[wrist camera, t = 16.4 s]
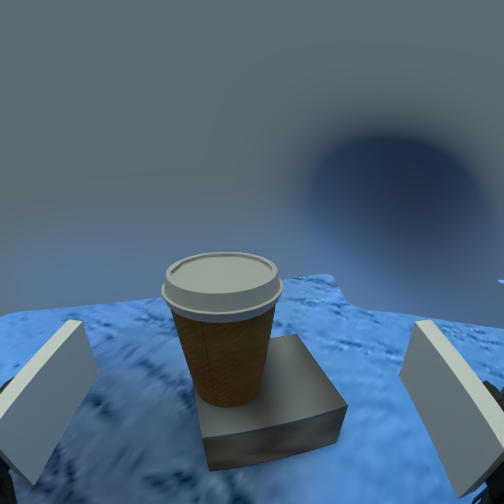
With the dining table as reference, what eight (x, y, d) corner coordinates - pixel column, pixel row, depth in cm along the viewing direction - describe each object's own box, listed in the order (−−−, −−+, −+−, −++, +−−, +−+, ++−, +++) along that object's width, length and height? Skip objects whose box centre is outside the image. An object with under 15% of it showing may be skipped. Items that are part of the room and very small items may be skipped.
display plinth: (293, 370, 37) (296, 333, 35) (336, 442, 25) (347, 405, 23) (194, 386, 34) (188, 348, 32) (209, 471, 22) (201, 437, 20)
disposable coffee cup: (227, 345, 33) (223, 244, 29) (297, 380, 27) (307, 266, 23) (159, 384, 26) (137, 270, 23) (228, 438, 20) (217, 312, 17)
